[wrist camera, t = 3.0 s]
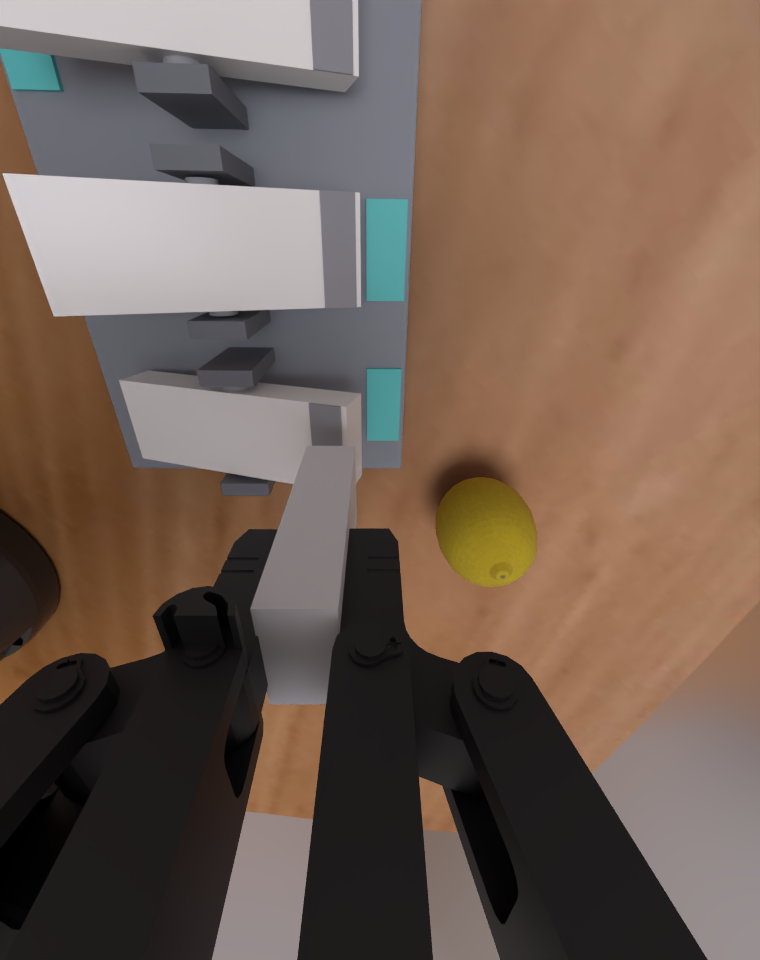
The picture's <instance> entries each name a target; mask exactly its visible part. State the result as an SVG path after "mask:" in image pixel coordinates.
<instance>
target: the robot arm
mask: <svg viewBox="0 0 760 960" xmlns="http://www.w3.org/2000/svg"><path fill="white" fill-rule="evenodd" d="M356 521H357V508H356V460H355V446H307V447H306V450H305V452H304V455H303V458H302V461H301V464H300V467H299V470H298V473H297V475H296V478H295V481H294V484H293V487H292V490H291V493H290V496H289V499H288V501H287V504H286V507H285V510H284V513H283V516H282V519H281V522H280V524H279V527H278V530H272V529H249V530H248V531H247V532H246V533H244V534H243V535H242V536H241V537H240V538H239V539H238V540H237V541H236V542H235V543H234V545H233V547H232V549H231V551H230V553H229V555H228V557H227V561H225V563H224V566H223V568H222V570H221V573H220V574H219V576H218V578H217V580H216V582H215V584H214V587H211V586H206V587H198V588H192V589H189V590H187V591H184V592H182V593H179V594H177V595H175V596H174V597H172V598H171V599H169V600H168V601H166V602H165V603H163V604H162V605H161V607H160V608H159V609H158V610H157V611H156V612H155V614H154V615H153V618H154V620H155V623H156V626H157V628H158V631H159V634H160V636H161V639H162V642H163V644H164V647H165V651H164V652H162V653H160V654H158V655H155V656H152V657H149V658H146V659H142V660H139V661H135V662H131V663H127V664H124V665H120V666H116V667H113V668H110V667H109V665H108V663H107V661H106V659H104V658H102V657H100V656H98V655H97V654H87V653H80V654H76V655H72V656H68V657H64V658H61V659H59V660H57V661H55V662H53V663H51V664H49V665H47V666H45V667H43V668H42V669H41V670H39V671H38V672H37V673H35V674H34V675H33V676H32V677H30V678H29V679H28V680H26V681H25V682H24V683H23V684H22V685H21V686H20V687H19V688H18V689H17V690H16V691H15V692H14V693H12V694H11V695H10V696H9V697H8V698H7V699H6V700H5V701H4V702H3V703H2V704H1V705H0V960H212V955H213V951H214V947H215V942H216V938H217V934H218V929H219V925H220V921H221V916H222V912H223V907H224V903H225V898H226V894H227V890H228V886H229V881H230V877H231V872H232V868H233V864H234V859H235V855H236V851H237V846H238V842H239V837H240V833H241V829H242V824H243V820H244V816H245V811H246V807H247V803H248V798H249V794H250V789H251V785H252V781H253V776H254V772H255V768H256V763H257V759H258V754H259V750H260V746H261V741H262V737H263V718H262V714H261V711H262V707H263V703H264V699H265V695H266V691H267V693H268V698H269V703H270V704H326V709H325V718H324V727H323V736H322V745H321V754H320V763H319V771H318V780H317V789H316V798H315V807H314V816H313V825H312V834H311V843H310V852H309V861H308V871H307V878H306V888H305V896H304V905H303V914H302V924H301V932H300V941H299V950H298V959H297V960H433V955H432V942H431V929H430V916H429V903H428V890H427V877H426V866H425V865H426V864H425V851H424V838H423V825H422V813H421V800H420V787H419V777H422V778H424V779H427V780H430V781H432V782H435V783H437V784H440V785H442V786H443V789H444V792H445V795H446V798H447V801H448V804H449V807H450V810H451V813H452V816H453V819H454V822H455V825H456V828H457V831H458V834H459V837H460V840H461V843H462V846H463V849H464V851H465V855H466V857H467V861H468V864H469V867H470V870H471V873H472V876H473V879H474V882H475V885H476V888H477V891H478V894H479V896H480V900H481V903H482V906H483V909H484V912H485V915H486V918H487V921H488V924H489V927H490V929H491V933H492V936H493V939H494V942H495V945H496V948H497V951H498V954H499V957H500V960H707V958H706V957H705V955H704V953H703V952H702V950H701V948H700V947H699V945H698V944H697V942H696V940H695V939H694V938H693V936H692V934H691V933H690V931H689V929H688V928H687V926H686V924H685V923H684V921H683V920H682V918H681V917H680V915H679V913H678V912H677V910H676V909H675V907H674V905H673V904H672V902H671V901H670V899H669V897H668V895H667V894H666V892H665V891H664V889H663V887H662V886H661V885H660V883H659V881H658V879H657V878H656V876H655V875H654V873H653V871H652V870H651V868H650V867H649V865H648V863H647V862H646V860H645V859H644V857H643V855H642V854H641V852H640V851H639V849H638V847H637V846H636V844H635V843H634V841H633V839H632V838H631V836H630V834H629V833H628V831H627V830H626V828H625V826H624V825H623V823H622V822H621V820H620V819H619V817H618V815H617V814H616V812H615V810H614V809H613V807H612V806H611V804H610V802H609V801H608V799H607V798H606V796H605V794H604V793H603V791H602V790H601V788H600V786H599V785H598V783H597V782H596V780H595V778H594V777H593V775H592V773H591V772H590V770H589V769H588V767H587V765H586V764H585V762H584V761H583V759H582V757H581V756H580V754H579V753H578V751H577V749H576V748H575V746H574V745H573V743H572V741H571V740H570V738H569V737H568V735H567V733H566V732H565V730H564V729H563V727H562V725H561V724H560V722H559V720H558V719H557V717H556V716H555V714H554V712H553V711H552V709H551V708H550V706H549V704H548V703H547V701H546V700H545V698H544V696H543V695H542V693H541V692H540V690H539V688H538V687H537V685H536V684H535V682H534V680H533V679H532V677H531V676H530V675H529V674H528V673H527V672H526V671H525V669H524V668H523V667H522V666H521V665H520V664H518V663H517V662H515V661H513V660H512V659H510V658H509V657H507V656H504V655H501V654H497V653H494V652H476V653H474V654H471V655H469V656H467V657H465V658H463V660H462V661H461V662H460V663H457V662H454V661H451V660H447V659H444V658H441V657H438V656H435V655H433V654H430V653H428V652H426V651H425V650H423V649H422V648H420V647H419V646H418V645H417V644H416V643H415V642H414V641H413V640H412V639H411V638H410V636H409V634H408V632H407V631H406V628H405V624H404V616H403V602H402V589H401V575H400V562H399V548H398V541H397V539H396V538H395V537H394V535H393V534H392V532H391V531H390V530H389V529H356ZM58 601H59V584H58V579H57V576H56V573H55V571H54V569H53V566H52V564H51V563H50V561H49V559H48V558H47V556H46V555H45V553H44V552H43V551H42V549H41V548H40V547H39V546H38V544H37V543H36V542H35V541H34V540H33V539H32V538H31V537H30V536H29V535H28V534H27V533H26V532H25V531H24V530H23V529H22V528H21V527H19V526H18V525H17V524H16V523H14V522H13V521H12V520H11V519H9V518H8V517H6V516H5V515H4V514H2V513H1V512H0V661H1V660H2V659H3V658H5V657H7V656H9V655H11V654H13V653H14V652H16V651H17V650H19V649H20V648H22V647H23V646H24V645H25V644H27V643H28V642H29V641H30V640H31V639H32V638H33V637H34V636H35V635H36V634H37V632H38V631H39V630H40V629H41V628H42V627H43V625H44V624H45V623H46V622H47V621H48V620H49V618H50V617H51V616H52V615H53V613H54V612H55V610H56V608H57V605H58Z"/></svg>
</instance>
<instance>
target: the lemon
mask: <svg viewBox="0 0 760 960" xmlns="http://www.w3.org/2000/svg"><path fill="white" fill-rule="evenodd" d="M436 535H437V539H438V542H439V546H440V549H441V551H442V553H443V555H444V557H445V558H446V560H447V561H448V563H449V564H450V566H451V567H452V568H453V570H454V571H455V572H456V573H458V574H459V575H460V576H461V577H462V578H464V579H465V580H467V581H469V582H471V583H473V584H476V585H480V586H485V587H498V586H503V585H506V584H509V583H512V582H514V581H515V580H517V579H519V578H520V577H521V576H522V575H523V574H524V573H526V571H527V570H528V569H529V567H530V566H531V564H532V563H533V560H534V557H535V554H536V552H537V531H536V526H535V523H534V520H533V516H532V513H531V511H530V509H529V507H528V506H527V504H526V503H525V501H524V500H523V499H522V497H521V496H520V495H519V494H518V493H517V492H516V491H515V490H514V489H512V488H511V487H510V486H508V485H507V484H505V483H503V482H501V481H498V480H496V479H493V478H486V477H476V478H470V479H467V480H463V481H461V482H460V483H458V484H456V485H454V486H453V487H452V488H451V489H450V490H449V491H448V492H447V493H446V494H445V496H444V497H443V499H442V500H441V502H440V504H439V507H438V510H437V514H436Z"/></svg>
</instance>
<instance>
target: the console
mask: <svg viewBox="0 0 760 960" xmlns="http://www.w3.org/2000/svg"><path fill="white" fill-rule="evenodd" d="M420 21H421V0H358V40H359V77H358V78H357V79H356V80H355V82H354V83H353V84H352V85H351V86H350V87H349V89H348V90H347V91H346V92H338V91H330V90H323V89H315V88H307V87H299V86H291V85H283V84H276V83H268V82H260V81H252V80H244V79H236V78H228V77H221V76H218V75H217V74H216V73H215V72H214V71H213V69H212V68H211V67H210V66H209V65H208V64H190V63H151V62H132V65H127V64H119V63H111V62H103V61H95V60H87V59H80V58H72V57H64V56H56V55H48V54H40V53H33V52H25V51H17V50H9V49H1V48H0V59H1V63H2V66H3V69H4V72H5V75H6V78H7V81H8V84H9V87H10V90H11V93H12V96H13V99H14V103H15V106H16V109H17V112H18V115H19V118H20V121H21V124H22V127H23V130H24V133H25V136H26V139H27V142H28V146H29V149H30V152H31V155H32V158H33V161H34V164H35V167H36V170H37V173H38V175H45V176H64V177H82V178H101V179H119V180H138V181H156V182H174V183H185V179H184V178H186V177H205V178H213V179H217V180H218V182H219V185H230V186H248V187H267V188H285V189H303V190H328V191H347V192H359V193H360V249H361V307H355V308H311V309H279V310H247V311H238V314H237V315H232V316H211V315H209V312H183V313H151V314H118V315H86V316H84V318H85V321H86V324H87V327H88V330H89V333H90V336H91V339H92V342H93V345H94V348H95V351H96V354H97V358H98V361H99V364H100V367H101V370H102V373H103V376H104V379H105V382H106V385H107V388H108V391H109V394H110V398H111V401H112V404H113V407H114V410H115V413H116V416H117V419H118V422H119V425H120V428H121V431H122V434H123V437H124V441H125V444H126V447H127V450H128V453H129V456H130V459H131V462H132V465H133V468H196V467H191V466H185V465H179V464H173V463H167V462H162V461H156V460H150V459H144V458H143V457H142V454H141V450H140V447H139V444H138V441H137V438H136V434H135V431H134V428H133V425H132V421H131V418H130V415H129V412H128V408H127V405H126V402H125V399H124V395H123V392H122V389H121V386H120V382H119V380H121V379H124V378H127V377H130V376H133V375H136V374H139V373H142V372H145V371H158V372H167V373H176V374H185V375H195V376H198V380H199V385H200V387H254V386H255V385H256V384H257V382H260V383H269V384H278V385H287V386H297V387H306V388H315V389H325V390H334V391H343V392H352V393H361V432H362V468H401V458H402V435H403V412H404V389H405V366H406V343H407V320H408V297H409V274H410V251H411V228H412V205H413V182H414V159H415V136H416V113H417V90H418V67H419V44H420ZM274 483H275V481H272V480H266V479H260V478H254V477H249V476H243V475H237V474H231V473H227V474H226V475H225V477H224V479H223V480H222V482H221V483H220V485H221V489H222V494H223V496H270V493H271V491H272V488H273V486H274Z"/></svg>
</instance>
